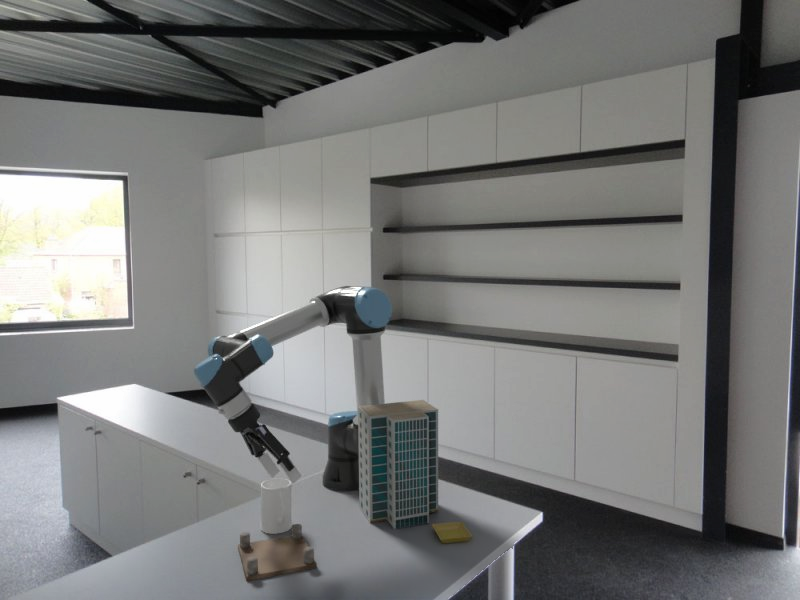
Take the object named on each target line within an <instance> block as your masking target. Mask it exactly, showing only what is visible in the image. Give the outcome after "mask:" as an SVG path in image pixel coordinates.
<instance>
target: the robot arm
mask: <svg viewBox="0 0 800 600" xmlns="http://www.w3.org/2000/svg"><path fill="white" fill-rule="evenodd" d="M392 312H393V306H392V302H391V300H390V297H389V296H388V295H387V293H385V292H384V290H382V289H380V288H377V287H371V286H351V285H345V286H344V285H343V286H339V287H337V288H334V289H331V290H328V291H327V292H324V293H321V294H319V295H317V296H313V297H312V298H311V299H309V302H308V303H306V304H304V305H300V306H299V307H296V308H294V309H291V310H289V311H287V312H284V313H281V314H280V315H279V314H278V315H277V316H274V317H271V318H269V319H267V320H264V321H262V322H260V323H257V324H255V325H252V326H250V327H247V328H244V329H243V330H239V331H238V332H235V333H232V334H229V335H228V336H226V335H219V336H216V337H214V338H212V339H211V340H210V342H209V344H208V346H207V354H208V357H207V358H205V359H204V360H203V361H201V362H200V363H198V364H197V365H196V366H195V368H194V369H193V375H195V378H196V379H197V380H198V382H199V384H200V386H201V388H203V390H204V391H205V392H206V393H207V395H208V396H209V398H210V399H211V400H212V401H213V403H214V405H216V407H217V409H218V410H219V411H218V414H219V415H223V417H224V418H225V420H227V423H228V425H229V426H230V428H231V429H232V430H233V432H234V433H239V434H240V435H241V437H242V438H243V440H244V442H245V444H246V447H247V448H248V450H249V452H250V455H251V456H254V457H255V458H257V460H258V461H259V462H260V464H261V466H262V467H263V468H264V470H265V471H266V472H267V474H268V476H270V479H274V477H275V476H276V475H278V473H280V472H281V470H280V469H279V467H278V466H277V465H279V466H280V468H281V469H282V470H283V472H284V473H285V475H286V476H287V478H288V480H290V481H291V484H295V483H296V482H297V481H298V480H299V479H300V478H302V474H301V472H300V471H299V470H298V468H297V466H296V465H295V464H294V462H293V460H291V459H290V457H289V456H290V454H291V452H290V451H289V450H288V449H287V447H285V446H284V445H283V444H282V442H280V440H279V439H278V438H277V437H276V436H275V435H274V434H273V433H272V432H271V431H270V429H269V428H268V427H267V425H266V424H265V423H263V424H259V423H258V419H260V417H261V412H260V410H259V409H258V408H257V406H256V405H255V404H254V403H252V399H251V398H250V396H249V394H247V391H246V390H245V389H244V387H243V386H241V382H242V381H243V380H245V379H246V378H247V377H249V376H250V375H251V374H253V373H254V372H256V371H257V370H258V369H259V368H261V367H262V366H264V365H266V364H267V362H269V361H270V360H271V359H272V358H273V356H274V349H273V347H274V346H276V345H278V344H280V343H282V342H285V341H287V340H290V339H292V338H294V337H296V336H298V335H301V334H303V333H306V332H308V331H310V330H312V329H315V328H317V327H321V328H325V327H327V326H329V325H333V324H345V325H346V334H347V335H348V336H349V337H351V339H352V354H353V369H354V380H355V381H354V383H355V400H356V410H351V411H350V410H349V411H341V412H335V413H332V414H331V415H329V417H328V423H327V435H328V436H327V437H328V438H327V453H328V454H327V462H326V464H325V468H324V471H323V474H322V485H323V486H324V487H325V488H327V489H329V490H334V491H341V492H346V491H347V492H348V491H355V490H359V439H358V406H367V405H376V404H386V403H385V388H384V370H383V368H384V367H383V353H382V338H381V337H382V336H383V334H384V333H385V331H386V325H388V323H389V322H390V318H392ZM268 452H269V453H270V454H269V453H268ZM270 455H272V456H273V457H274V458H275V459H276V463H275V461H274V460H273V459H272V458H271V456H270Z"/></svg>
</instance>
